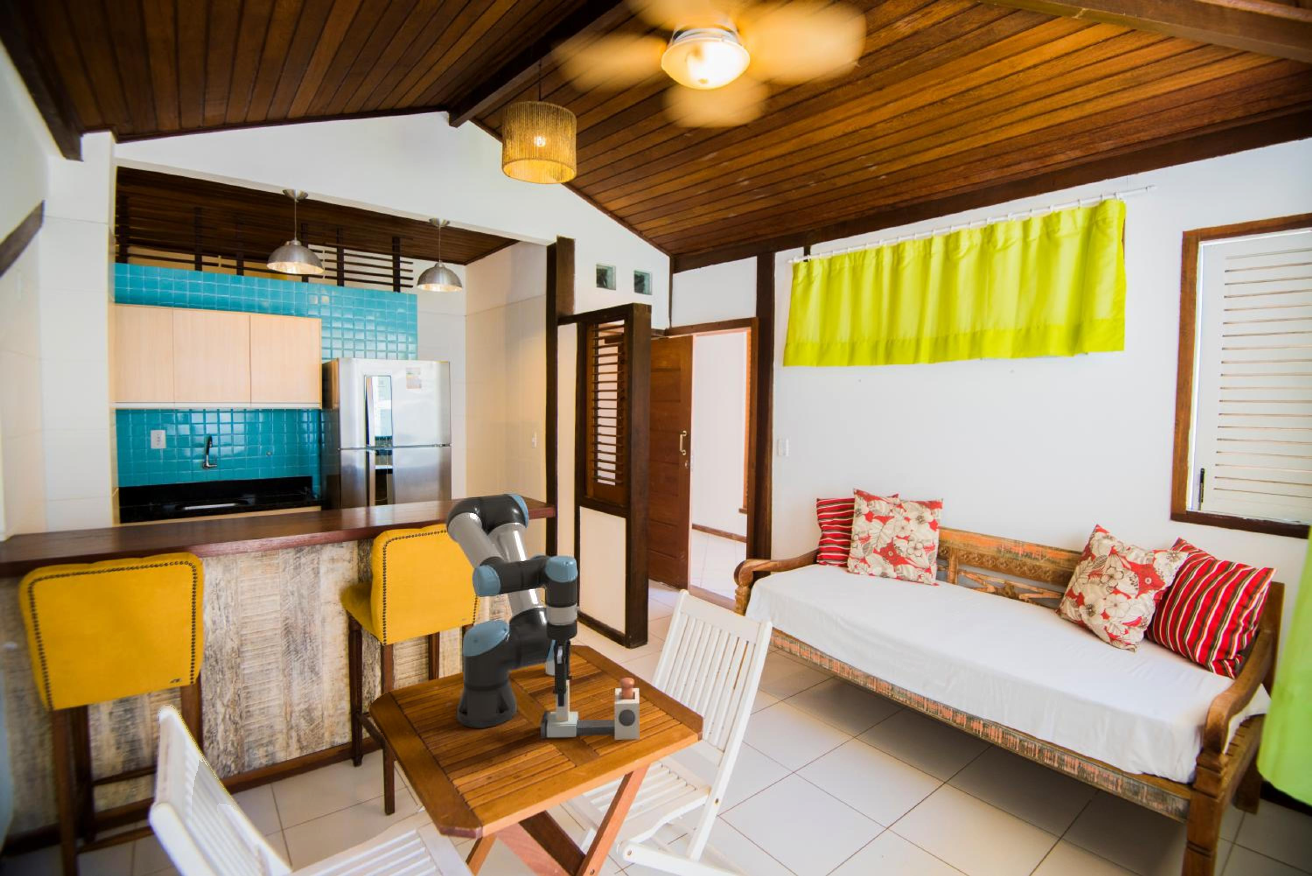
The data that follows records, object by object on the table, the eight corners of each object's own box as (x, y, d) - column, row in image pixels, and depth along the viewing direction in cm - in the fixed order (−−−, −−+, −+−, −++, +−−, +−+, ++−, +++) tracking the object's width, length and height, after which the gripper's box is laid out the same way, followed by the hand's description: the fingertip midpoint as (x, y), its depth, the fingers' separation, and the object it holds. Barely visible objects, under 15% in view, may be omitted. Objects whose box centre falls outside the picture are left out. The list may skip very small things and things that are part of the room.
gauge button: (619, 709, 152) (619, 684, 152) (620, 702, 156) (619, 677, 155) (634, 709, 152) (634, 684, 152) (634, 702, 156) (634, 677, 156)
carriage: (547, 737, 150) (546, 689, 150) (550, 722, 157) (550, 676, 156) (575, 736, 151) (575, 688, 150) (578, 722, 157) (577, 676, 157)
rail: (541, 739, 151) (540, 723, 150) (544, 726, 157) (544, 710, 156) (618, 737, 151) (618, 721, 151) (619, 724, 157) (619, 709, 157)
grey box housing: (614, 740, 150) (614, 704, 149) (615, 722, 158) (615, 688, 158) (639, 740, 150) (639, 704, 150) (638, 722, 159) (638, 688, 158)
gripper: (574, 633, 144) (574, 730, 145) (580, 608, 161) (580, 694, 162) (541, 633, 143) (542, 731, 145) (551, 608, 161) (552, 695, 162)
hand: (562, 711), depth 154 cm, fingers open, 4 cm apart
